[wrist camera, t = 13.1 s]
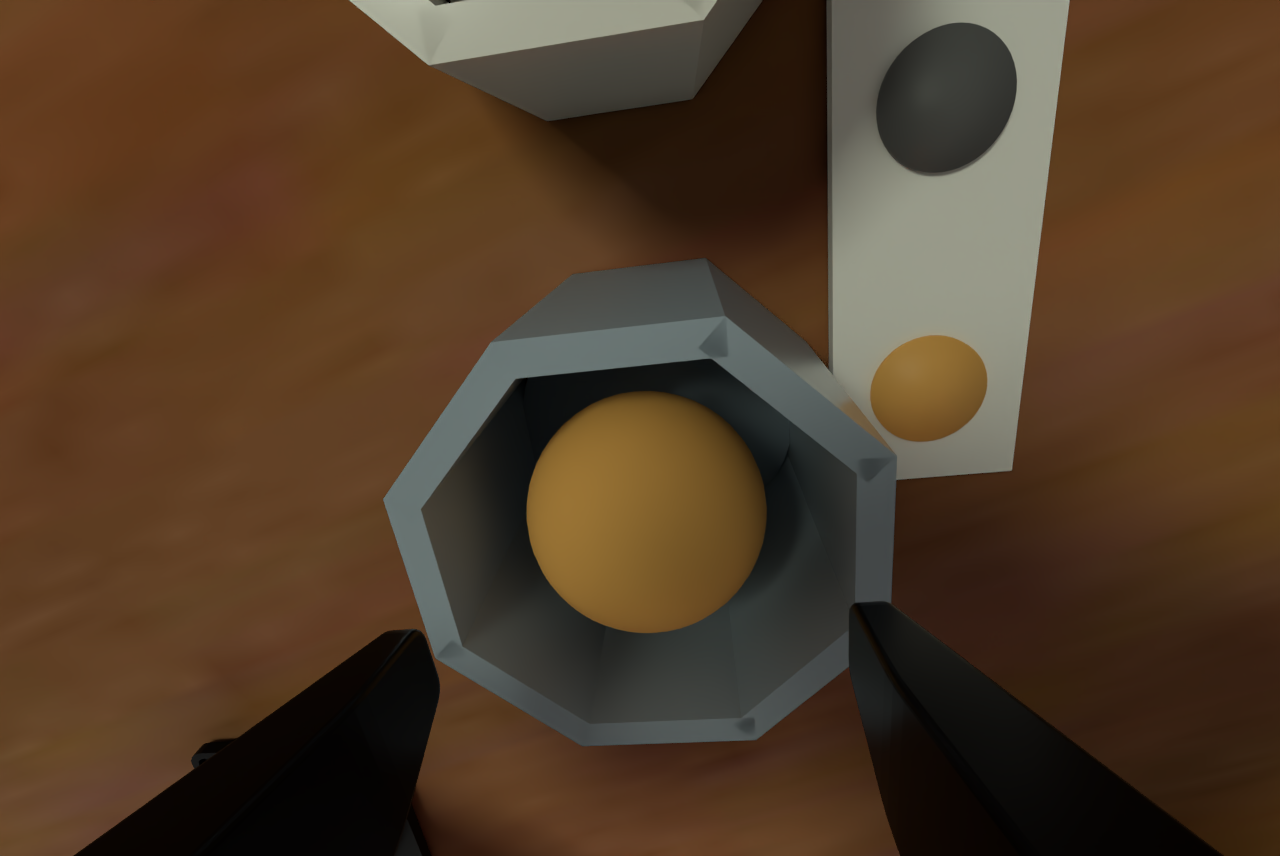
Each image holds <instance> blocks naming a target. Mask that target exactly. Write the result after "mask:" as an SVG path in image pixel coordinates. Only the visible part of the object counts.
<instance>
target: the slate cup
mask: <svg viewBox="0 0 1280 856" xmlns="http://www.w3.org/2000/svg"><path fill="white" fill-rule="evenodd" d="M527 377H528V380H527V383H526V385H525V381H524V379H525V378H527ZM633 391H658V392H666V393H671V394H675V395H680V396H683V397H685V398H688V399H691V400H694V401H696V402H698V403H700V404H702V405H704V406H706V407H708V408H709V409H711V410H712V411H714V412H715V413H717V414H718V415H720V416H721V417H722V418H723V419H724V420H725V421H726V422H728V423H729V424H730V425H731V426H732V427H733V429H734V430H735V431H736V432H737V433H738V434H739V435H740V437H741V438H742V439H743V440H744V442H745V443H746V445H747V446H748V448H749V449H750V451H751V453H752V455H753V457H754V459H755V461H756V464H757V466H758V468H759V471H760V473H761V477H762V480H763V484H764V489H765V497H766V505H767V521H766V529H765V535H764V540H763V545H762V548H761V550H760V553H759V556H758V559H757V561H756V563H755V565H754V567H753V569H752V571H751V573H750V575H749V577H748V578H747V579H746V581H745V582H744V584H743V585H742V586H741V588H740V589H739V590H738V591H737V593H736V594H735V595H734V596H733V597H732V598H731V599H730V600H729V601H728V602H727V603H726V604H724V605H723V606H722V607H721V608H719V609H718V610H717V611H715V612H714V613H712V614H711V615H709V616H707V617H706V618H704V619H703V620H700V621H698V622H696V623H694V624H692V625H689V626H686V627H683V628H680V629H676V630H672V631H667V632H658V633H635V632H627V631H622V630H618V629H614V628H611V627H608V626H605V625H602V624H600V623H598V622H596V621H593V620H591V619H590V618H588V617H586V616H584V615H583V614H581V613H580V612H578V611H577V610H575V609H574V608H573V607H571V606H570V605H569V604H568V603H567V602H566V601H565V600H564V599H563V598H562V597H561V596H560V595H559V594H558V593H557V592H556V590H555V589H554V588H553V587H552V586H551V585H550V583H549V582H548V580H547V579H546V577H545V575H544V574H543V572H542V570H541V568H540V566H539V564H538V562H537V559H536V557H535V555H534V552H533V549H532V546H531V543H530V538H529V532H528V525H527V498H528V491H529V485H530V481H531V478H532V475H533V472H534V469H535V466H536V464H537V462H538V459H539V457H540V455H541V453H542V451H543V450H544V448H545V447H546V445H547V444H548V442H549V441H550V440H551V438H552V437H553V435H554V434H555V433H556V432H557V431H558V430H559V429H560V427H561V426H562V425H563V424H564V423H565V422H567V421H568V420H569V419H570V418H572V417H573V416H574V415H575V414H577V413H578V412H579V411H581V410H583V409H584V408H586V407H587V406H589V405H591V404H593V403H595V402H597V401H599V400H602V399H604V398H607V397H610V396H613V395H617V394H621V393H627V392H633ZM896 473H897V455H896V454H895V453H894V452H893V450H892V449H891V448H890V446H889V445H888V444H887V443H886V441H885V440H884V439H883V438H882V436H881V435H880V434H879V433H878V431H877V430H876V429H875V428H874V426H873V425H872V424H871V423H870V421H869V420H868V419H867V418H866V416H865V415H864V414H863V413H862V411H861V410H860V409H859V408H858V406H857V405H856V404H855V403H854V401H853V400H852V399H851V398H850V396H849V395H848V394H847V393H846V391H845V390H844V389H843V388H842V386H841V385H840V384H839V382H838V381H837V380H836V379H835V377H834V376H833V375H832V374H831V372H830V371H829V370H828V369H827V367H826V366H825V365H824V364H823V362H822V361H821V360H820V359H819V357H818V356H817V355H816V354H815V352H814V351H813V350H812V349H811V347H810V346H809V345H808V344H807V342H806V341H805V340H804V339H802V338H801V337H800V336H799V335H798V334H796V333H795V332H794V331H793V330H792V329H790V328H789V327H788V326H787V325H786V324H784V323H783V322H782V321H781V320H780V319H778V318H777V317H776V316H775V315H774V314H772V313H771V312H770V311H769V310H768V309H766V308H765V307H764V306H763V305H762V304H760V303H759V302H758V301H757V300H756V299H754V298H753V297H752V296H751V295H749V294H748V293H747V292H746V291H745V290H743V289H742V288H741V287H740V286H739V285H737V284H736V283H735V282H734V281H733V280H731V279H730V278H729V277H728V276H727V275H725V274H724V273H723V272H722V271H721V270H719V269H718V268H717V267H716V266H715V265H713V264H712V263H711V262H710V261H709V260H707V259H706V258H701V259H692V260H684V261H676V262H668V263H660V264H652V265H643V266H635V267H627V268H619V269H611V270H603V271H594V272H586V273H578V274H572V275H571V276H570V277H569V278H567V279H566V280H565V281H564V282H563V283H561V284H560V285H559V286H558V287H557V288H555V289H554V290H553V291H552V292H551V293H549V294H548V295H547V296H546V297H545V298H543V299H542V300H541V301H540V302H539V303H537V304H536V305H535V306H534V307H533V308H531V309H530V310H529V311H528V312H527V313H525V314H524V315H523V316H522V317H521V318H520V319H518V320H517V321H516V322H515V323H514V324H512V325H511V326H510V327H509V328H508V329H506V330H505V331H504V332H503V333H502V334H500V335H499V336H498V337H497V338H496V339H494V340H493V341H492V342H491V343H490V345H489V346H488V348H487V349H486V350H485V352H484V353H483V355H482V356H481V358H480V359H479V361H478V362H477V364H476V365H475V366H474V368H473V369H472V371H471V372H470V374H469V375H468V377H467V378H466V380H465V381H464V382H463V384H462V385H461V387H460V388H459V390H458V391H457V393H456V394H455V396H454V397H453V398H452V400H451V401H450V403H449V404H448V406H447V407H446V409H445V410H444V412H443V413H442V414H441V416H440V417H439V419H438V420H437V422H436V423H435V425H434V426H433V428H432V429H431V430H430V432H429V433H428V435H427V436H426V438H425V439H424V441H423V442H422V443H421V445H420V446H419V448H418V449H417V451H416V452H415V454H414V455H413V457H412V458H411V459H410V461H409V462H408V464H407V465H406V467H405V468H404V470H403V471H402V473H401V474H400V475H399V477H398V478H397V480H396V481H395V483H394V484H393V486H392V487H391V489H390V490H389V491H388V493H387V494H386V496H385V497H384V499H383V500H384V504H385V507H386V510H387V513H388V516H389V519H390V522H391V525H392V528H393V531H394V534H395V537H396V540H397V543H398V546H399V549H400V552H401V555H402V558H403V561H404V564H405V567H406V570H407V573H408V576H409V579H410V582H411V586H412V589H413V592H414V595H415V598H416V601H417V604H418V607H419V610H420V613H421V616H422V619H423V622H424V625H425V628H426V631H427V634H428V637H429V640H430V643H431V646H432V649H433V652H434V655H435V658H436V659H437V660H439V661H441V662H442V663H444V664H446V665H448V666H449V667H451V668H453V669H454V670H456V671H458V672H459V673H461V674H463V675H464V676H466V677H468V678H469V679H471V680H473V681H474V682H476V683H478V684H479V685H481V686H483V687H484V688H486V689H488V690H489V691H491V692H493V693H494V694H496V695H498V696H499V697H501V698H503V699H504V700H506V701H508V702H509V703H511V704H513V705H514V706H516V707H518V708H519V709H521V710H523V711H524V712H526V713H528V714H529V715H531V716H533V717H534V718H536V719H538V720H539V721H541V722H543V723H544V724H546V725H548V726H549V727H551V728H553V729H554V730H556V731H558V732H559V733H561V734H563V735H564V736H566V737H568V738H569V739H571V740H573V741H574V742H576V743H578V744H579V745H581V746H601V745H630V744H658V743H686V742H714V741H742V740H757V739H758V738H759V737H760V736H762V735H763V734H764V733H765V732H767V731H768V730H769V729H771V728H772V727H773V726H774V725H776V724H777V723H778V722H779V721H781V720H782V719H783V718H784V717H786V716H787V715H788V714H789V713H791V712H792V711H793V710H795V709H796V708H797V707H798V706H800V705H801V704H802V703H803V702H805V701H806V700H807V699H808V698H810V697H811V696H812V695H814V694H815V693H816V692H817V691H819V690H820V689H821V688H822V687H824V686H825V685H826V684H827V683H829V682H830V681H831V680H832V679H834V678H835V677H836V676H838V675H839V674H840V673H841V672H843V671H844V670H845V669H846V668H848V667H849V657H848V651H849V609H850V607H851V605H852V604H854V603H856V602H872V601H886V602H889V603H891V594H892V569H893V545H894V521H895V497H896Z"/></svg>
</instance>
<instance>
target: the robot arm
mask: <svg viewBox="0 0 1280 856" xmlns="http://www.w3.org/2000/svg"><path fill="white" fill-rule="evenodd" d="M848 657H849V669H850V675H851V680H852V684H853V688H854V692H855V696H856V700H857V704H858V708H859V711H860V715H861V719H862V723H863V727H864V731H865V735H866V739H867V743H868V747H869V751H870V755H871V759H872V763H873V767H874V771H875V775H876V779H877V782H878V786H879V790H880V794H881V798H882V801H883V805H884V808H885V812H886V816H887V819H888V822H889V825H890V828H891V831H892V834H893V837H894V840H895V843H896V845H897V848H898V851H899V854H900V856H1223V855H1222V854H1221V853H1219V852H1218V851H1217V850H1215V849H1214V848H1213V847H1212V846H1210V845H1209V844H1208V843H1206V842H1205V841H1204V840H1202V839H1201V838H1200V837H1198V836H1197V835H1196V834H1194V833H1193V832H1192V831H1190V830H1189V829H1188V828H1186V827H1185V826H1184V825H1183V824H1181V823H1180V822H1179V821H1177V820H1176V819H1175V818H1173V817H1172V816H1171V815H1169V814H1168V813H1167V812H1165V811H1164V810H1163V809H1161V808H1160V807H1159V806H1157V805H1156V804H1155V803H1154V802H1152V801H1151V800H1150V799H1148V798H1147V797H1146V796H1144V795H1143V794H1142V793H1140V792H1139V791H1138V790H1136V789H1135V788H1134V787H1132V786H1131V785H1130V784H1128V783H1127V782H1126V781H1125V780H1123V779H1122V778H1121V777H1119V776H1118V775H1117V774H1115V773H1114V772H1113V771H1111V770H1110V769H1109V768H1107V767H1106V766H1105V765H1103V764H1102V763H1101V762H1099V761H1098V760H1097V759H1096V758H1094V757H1093V756H1092V755H1090V754H1089V753H1088V752H1086V751H1085V750H1084V749H1082V748H1081V747H1080V746H1078V745H1077V744H1076V743H1074V742H1073V741H1072V740H1070V739H1069V738H1068V737H1067V736H1065V735H1064V734H1063V733H1061V732H1060V731H1059V730H1057V729H1056V728H1055V727H1053V726H1052V725H1051V724H1049V723H1048V722H1047V721H1045V720H1044V719H1043V718H1041V717H1040V716H1039V715H1038V714H1036V713H1035V712H1034V711H1032V710H1031V709H1030V708H1028V707H1027V706H1026V705H1024V704H1023V703H1022V702H1020V701H1019V700H1018V699H1016V698H1015V697H1014V696H1012V695H1011V694H1010V693H1009V692H1007V691H1006V690H1005V689H1003V688H1002V687H1001V686H999V685H998V684H997V683H995V682H994V681H993V680H991V679H990V678H989V677H987V676H986V675H985V674H983V673H982V672H981V671H980V670H978V669H977V668H976V667H974V666H973V665H972V664H970V663H969V662H968V661H966V660H965V659H964V658H962V657H961V656H960V655H958V654H957V653H956V652H954V651H953V650H952V649H950V648H949V647H948V646H947V645H945V644H944V643H943V642H941V641H940V640H939V639H937V638H936V637H935V636H933V635H932V634H931V633H929V632H928V631H927V630H925V629H924V628H923V627H921V626H920V625H919V624H918V623H916V622H915V621H914V620H912V619H911V618H910V617H908V616H907V615H906V614H904V613H903V612H902V611H900V610H899V609H898V608H896V607H895V606H894V605H892V604H891V603H889V602H886V601H872V602H856V603H854V604H852V605H851V607H850V609H849V651H848ZM439 694H440V682H439V677H438V674H437V671H436V668H435V665H434V662H433V659H432V656H431V653H430V650H429V647H428V644H427V641H426V638H425V636H424V634H423V633H422V632H421V631H420V630H417V629H406V630H392V631H387V632H385V633H383V634H382V635H380V636H379V637H377V638H376V639H375V640H373V641H372V642H371V643H369V644H368V645H366V646H365V647H364V648H362V649H361V650H359V651H358V652H357V653H355V654H354V655H352V656H351V657H350V658H348V659H347V660H345V661H344V662H343V663H341V664H340V665H339V666H337V667H336V668H334V669H333V670H332V671H330V672H329V673H327V674H326V675H325V676H323V677H322V678H320V679H319V680H318V681H316V682H315V683H313V684H312V685H311V686H309V687H308V688H306V689H305V690H304V691H302V692H301V693H299V694H298V695H297V696H295V697H294V698H293V699H291V700H290V701H288V702H287V703H286V704H284V705H283V706H281V707H280V708H279V709H277V710H276V711H274V712H273V713H272V714H270V715H269V716H267V717H266V718H265V719H263V720H262V721H260V722H259V723H258V724H256V725H255V726H254V727H252V728H251V729H249V730H248V731H247V732H245V733H244V734H242V735H241V736H240V737H238V738H237V739H235V740H234V741H233V742H210V743H205V744H204V745H202V746H201V747H200V748H199V750H198V751H197V752H196V753H195V754H194V756H193V757H192V760H191V762H192V765H193V767H194V770H192V771H191V772H189V773H188V774H187V775H185V776H184V777H182V778H181V779H180V780H178V781H177V782H176V783H174V784H173V785H171V786H170V787H169V788H167V789H166V790H164V791H163V792H162V793H160V794H159V795H157V796H156V797H155V798H153V799H152V800H150V801H149V802H148V803H146V804H145V805H143V806H142V807H141V808H139V809H138V810H137V811H135V812H134V813H132V814H131V815H130V816H128V817H127V818H125V819H124V820H123V821H121V822H120V823H118V824H117V825H116V826H114V827H113V828H111V829H110V830H109V831H107V832H106V833H104V834H103V835H102V836H100V837H99V838H97V839H96V840H95V841H93V842H92V843H91V844H89V845H88V846H86V847H85V848H84V849H82V850H81V851H79V852H78V853H77V854H75V855H74V856H431V853H430V851H429V848H428V846H427V843H426V841H425V838H424V835H423V833H422V830H421V828H420V825H419V823H418V820H417V818H416V815H415V813H414V810H413V808H412V805H411V802H412V798H413V795H414V791H415V787H416V783H417V779H418V776H419V772H420V768H421V764H422V761H423V757H424V753H425V749H426V746H427V742H428V738H429V734H430V730H431V727H432V723H433V719H434V715H435V712H436V708H437V704H438V700H439Z"/></svg>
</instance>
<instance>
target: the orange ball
mask: <svg viewBox="0 0 1280 856" xmlns="http://www.w3.org/2000/svg"><path fill="white" fill-rule="evenodd" d="M766 521H767V505H766V497H765V489H764V484H763V480H762V477H761V473H760V471H759V468H758V466H757V464H756V461H755V459H754V457H753V455H752V453H751V451H750V449H749V448H748V446H747V445H746V443H745V442H744V440H743V439H742V438H741V437H740V435H739V434H738V433H737V432H736V431H735V430H734V429H733V427H732V426H731V425H730V424H729V423H728V422H726V421H725V420H724V419H723V418H722V417H721V416H720V415H718V414H717V413H715V412H714V411H712V410H711V409H709V408H708V407H706V406H704V405H702V404H700V403H698V402H696V401H694V400H691V399H688V398H685V397H683V396H680V395H675V394H671V393H666V392H658V391H633V392H627V393H621V394H617V395H613V396H610V397H607V398H604V399H602V400H599V401H597V402H595V403H593V404H591V405H589V406H587V407H586V408H584V409H583V410H581V411H579V412H578V413H577V414H575V415H574V416H573V417H572V418H570V419H569V420H568V421H567V422H565V423H564V424H563V425H562V426H561V427H560V429H559V430H558V431H557V432H556V433H555V434H554V435H553V437H552V438H551V440H550V441H549V442H548V444H547V445H546V447H545V448H544V450H543V451H542V453H541V455H540V457H539V459H538V462H537V464H536V466H535V469H534V472H533V475H532V478H531V481H530V485H529V491H528V498H527V525H528V532H529V538H530V543H531V546H532V549H533V552H534V555H535V557H536V559H537V562H538V564H539V566H540V568H541V570H542V572H543V574H544V575H545V577H546V579H547V580H548V582H549V583H550V585H551V586H552V587H553V588H554V589H555V590H556V592H557V593H558V594H559V595H560V596H561V597H562V598H563V599H564V600H565V601H566V602H567V603H568V604H569V605H570V606H571V607H573V608H574V609H575V610H577V611H578V612H580V613H581V614H583V615H584V616H586V617H588V618H590V619H591V620H593V621H596V622H598V623H600V624H602V625H605V626H608V627H611V628H614V629H618V630H622V631H627V632H635V633H658V632H667V631H672V630H676V629H680V628H683V627H686V626H689V625H692V624H694V623H696V622H698V621H700V620H703V619H704V618H706V617H707V616H709V615H711V614H712V613H714V612H715V611H717V610H718V609H719V608H721V607H722V606H723V605H724V604H726V603H727V602H728V601H729V600H730V599H731V598H732V597H733V596H734V595H735V594H736V593H737V591H738V590H739V589H740V588H741V586H742V585H743V584H744V582H745V581H746V579H747V578H748V577H749V575H750V573H751V571H752V569H753V567H754V565H755V563H756V561H757V559H758V556H759V553H760V550H761V548H762V545H763V540H764V535H765V529H766Z"/></svg>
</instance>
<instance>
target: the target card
mask: <svg viewBox="0 0 1280 856" xmlns="http://www.w3.org/2000/svg"><path fill="white" fill-rule="evenodd" d="M1069 1H1070V0H827V157H828V317H829V371H830V372H831V374H832V375H833V376H834V377H835V379H836V380H837V381H838V382H839V384H840V385H841V386H842V388H843V389H844V390H845V391H846V393H847V394H848V395H849V396H850V398H851V399H852V400H853V401H854V403H855V404H856V405H857V406H858V408H859V409H860V410H861V411H862V413H863V414H864V415H865V416H866V418H867V419H868V420H869V421H870V423H871V424H872V425H873V426H874V428H875V429H876V430H877V431H878V433H879V434H880V435H881V436H882V438H883V439H884V440H885V441H886V443H887V444H888V445H889V446H890V448H891V449H892V450H893V452H894V453H895V454H896V455H897V473H896V480H901V479H913V478H926V477H938V476H951V475H963V474H976V473H988V472H1001V471H1012V465H1013V456H1014V448H1015V440H1016V432H1017V424H1018V416H1019V408H1020V399H1021V391H1022V383H1023V375H1024V367H1025V359H1026V351H1027V342H1028V334H1029V326H1030V318H1031V310H1032V302H1033V294H1034V286H1035V277H1036V269H1037V261H1038V253H1039V245H1040V237H1041V229H1042V220H1043V212H1044V204H1045V196H1046V188H1047V180H1048V172H1049V164H1050V155H1051V147H1052V139H1053V131H1054V123H1055V115H1056V107H1057V98H1058V90H1059V82H1060V74H1061V66H1062V58H1063V50H1064V41H1065V33H1066V25H1067V17H1068V9H1069Z"/></svg>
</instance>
